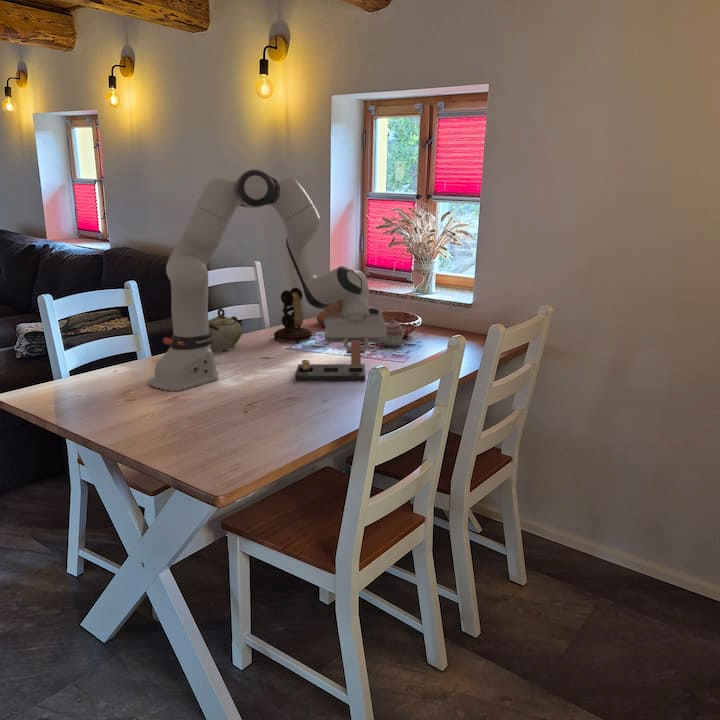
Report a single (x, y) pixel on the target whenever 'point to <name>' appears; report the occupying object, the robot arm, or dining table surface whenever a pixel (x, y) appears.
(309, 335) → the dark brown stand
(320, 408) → the dining table surface
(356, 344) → the terracotta peg
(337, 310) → the ceramic jug
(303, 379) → the grey peg board
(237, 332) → the olive green rounded pot
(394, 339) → the cupcake
